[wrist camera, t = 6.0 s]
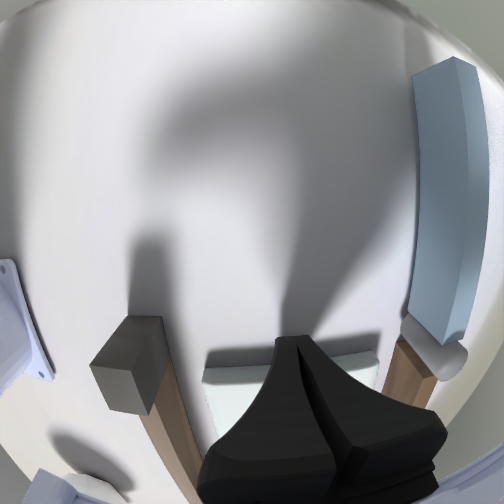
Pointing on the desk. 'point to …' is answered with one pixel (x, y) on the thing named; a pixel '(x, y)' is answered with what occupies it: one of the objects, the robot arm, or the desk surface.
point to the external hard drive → (252, 378)
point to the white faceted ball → (94, 488)
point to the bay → (170, 402)
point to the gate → (448, 213)
